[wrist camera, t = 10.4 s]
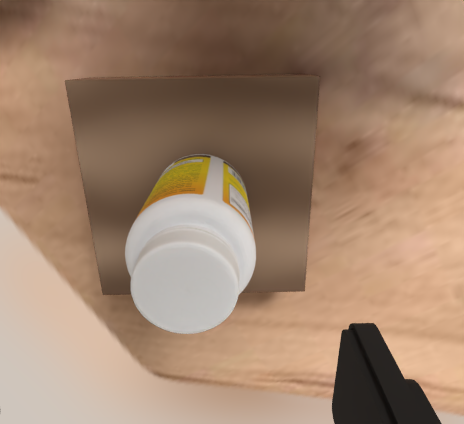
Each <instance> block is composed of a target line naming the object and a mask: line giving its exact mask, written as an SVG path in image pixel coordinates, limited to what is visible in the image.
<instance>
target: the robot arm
mask: <svg viewBox="0 0 464 424" xmlns="http://www.w3.org/2000/svg"><path fill="white" fill-rule="evenodd" d="M332 413H333V419H334V423H335V424H441V422H440V420H439V419H438V417H437V415H436V413H435V411H434V410H433V408H432V406H431V404H430V402H429V401H428V399H427V397H426V395H425V394H424V392H423V390H422V388H421V387H420V386H419V384H418V383H417V382H416V381H415V380H412V379H404V377H403V375H402V373H401V371H400V369H399V368H398V366H397V364H396V362H395V360H394V358H393V356H392V354H391V352H390V350H389V349H388V347H387V345H386V343H385V341H384V339H383V337H382V335H381V333H380V332H379V330H378V328H377V326H376V325H375V324H374V323H352V324H350V326H349V329H348V330H343V331H342V334H341V342H340V349H339V356H338V364H337V371H336V379H335V386H334V393H333V401H332Z"/></svg>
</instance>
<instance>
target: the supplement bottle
mask: <svg viewBox="0 0 464 424" xmlns="http://www.w3.org/2000/svg"><path fill="white" fill-rule="evenodd" d="M125 259H126V265H127V269H128V272H129V274H130V276H131V295H132V298H133V301H134V303H135V305H136V307H137V309H138V310H139V312H140V313H141V314H142V315H143V316H144V317H145V318H146V319H147V320H148V321H149V322H151V323H152V324H154V325H155V326H157V327H159V328H161V329H164V330H166V331H169V332H173V333H180V334H193V333H200V332H204V331H207V330H210V329H212V328H214V327H216V326H217V325H219V324H220V323H222V322H223V321H224V320H225V319H226V318H227V317H228V316H229V315H230V313H231V312H232V311H233V309H234V307H235V305H236V303H237V300H238V295H239V294H240V293H241V292H242V291H243V290H244V289H245V287H246V286H247V284H248V283H249V281H250V279H251V277H252V274H253V272H254V268H255V263H256V245H255V239H254V233H253V227H252V221H251V215H250V209H249V203H248V197H247V191H246V187H245V184H244V182H243V180H242V178H241V176H240V174H239V173H238V172H237V171H236V170H235V168H234V167H232V166H231V165H230V164H229V163H227V162H226V161H224V160H222V159H220V158H218V157H215V156H212V155H206V154H194V155H189V156H185V157H182V158H180V159H178V160H176V161H175V162H173V163H172V164H171V165H169V166H168V167H167V168H166V169H165V171H164V172H163V173H162V175H161V176H160V178H159V180H158V181H157V183H156V185H155V187H154V188H153V190H152V192H151V194H150V195H149V197H148V199H147V201H146V202H145V204H144V206H143V207H142V209H141V211H140V212H139V214H138V216H137V218H136V219H135V221H134V223H133V225H132V227H131V229H130V232H129V234H128V237H127V241H126V246H125Z"/></svg>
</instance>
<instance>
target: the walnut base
mask: <svg viewBox="0 0 464 424" xmlns="http://www.w3.org/2000/svg"><path fill="white" fill-rule="evenodd" d="M319 83H320V76H314V75H308V74H290V75H229V76H169V77H108V78H84V79H75V80H65V84H66V90H67V96H68V101H69V107H70V112H71V118H72V124H73V129H74V135H75V141H76V146H77V152H78V157H79V163H80V169H81V174H82V180H83V186H84V191H85V197H86V202H87V208H88V214H89V219H90V225H91V231H92V236H93V242H94V247H95V253H96V259H97V264H98V270H99V275H100V281H101V287H102V292H103V295H121V294H131V276H130V274H129V272H128V269H127V265H126V259H125V246H126V241H127V237H128V234H129V232H130V229H131V227H132V225H133V223H134V221H135V219H136V218H137V216H138V214H139V212H140V211H141V209H142V207H143V206H144V204H145V202H146V201H147V199H148V197H149V195H150V194H151V192H152V190H153V188H154V187H155V185H156V183H157V181H158V180H159V178H160V176H161V175H162V173H163V172H164V171H165V169H166V168H167V167H168V166H169V165H171V164H172V163H173V162H175V161H176V160H178V159H180V158H182V157H185V156H189V155H194V154H206V155H212V156H215V157H218V158H220V159H222V160H224V161H226V162H227V163H229V164H230V165H231V166H232V167H234V168H235V170H236V171H237V172H238V173H239V174H240V176H241V178H242V180H243V182H244V184H245V187H246V191H247V197H248V203H249V209H250V215H251V221H252V227H253V233H254V239H255V245H256V263H255V268H254V272H253V274H252V277H251V279H250V281H249V283H248V284H247V286H246V287H245V289H244V290H243V291H242V292H295V291H305V279H306V265H307V251H308V237H309V223H310V209H311V195H312V181H313V167H314V153H315V139H316V125H317V111H318V97H319Z"/></svg>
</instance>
